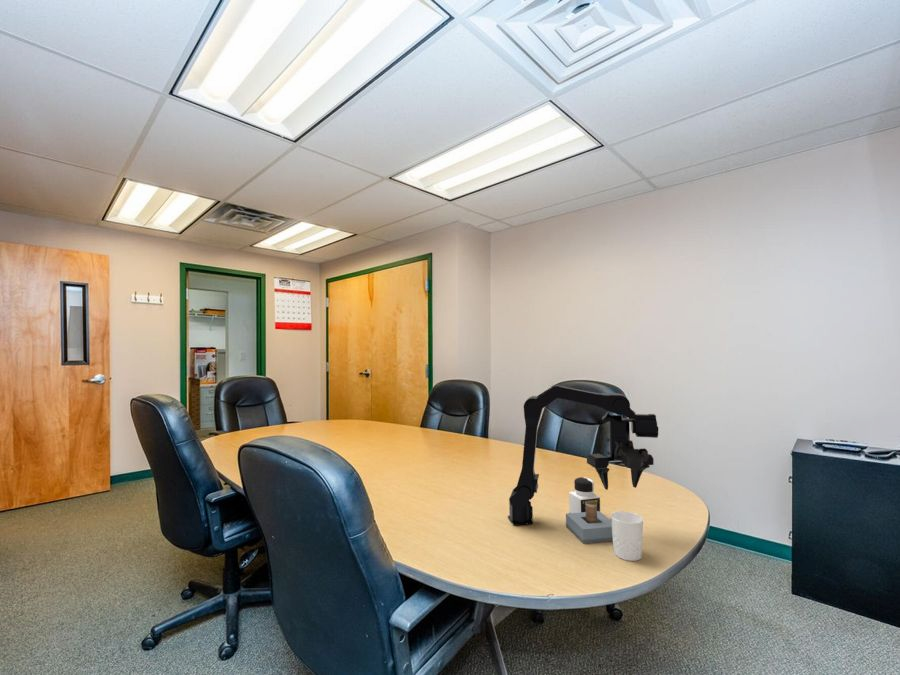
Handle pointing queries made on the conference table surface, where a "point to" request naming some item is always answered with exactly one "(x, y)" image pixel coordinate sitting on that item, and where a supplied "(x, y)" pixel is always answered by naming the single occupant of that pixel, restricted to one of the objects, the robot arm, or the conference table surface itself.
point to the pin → (591, 512)
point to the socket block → (589, 527)
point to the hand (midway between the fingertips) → (620, 488)
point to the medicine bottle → (582, 495)
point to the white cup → (627, 535)
